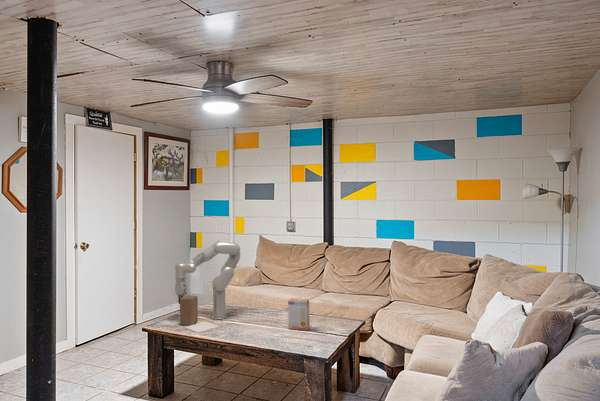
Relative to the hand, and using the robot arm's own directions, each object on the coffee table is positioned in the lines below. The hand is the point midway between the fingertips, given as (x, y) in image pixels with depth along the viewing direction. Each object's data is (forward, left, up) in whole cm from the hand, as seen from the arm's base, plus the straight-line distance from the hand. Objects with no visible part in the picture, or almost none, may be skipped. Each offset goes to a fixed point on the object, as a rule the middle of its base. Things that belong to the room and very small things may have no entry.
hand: (181, 303), depth 332 cm
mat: (-1, +26, -13) cm, 29 cm away
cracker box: (-45, +81, -13) cm, 94 cm away
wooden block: (0, +11, -13) cm, 17 cm away
